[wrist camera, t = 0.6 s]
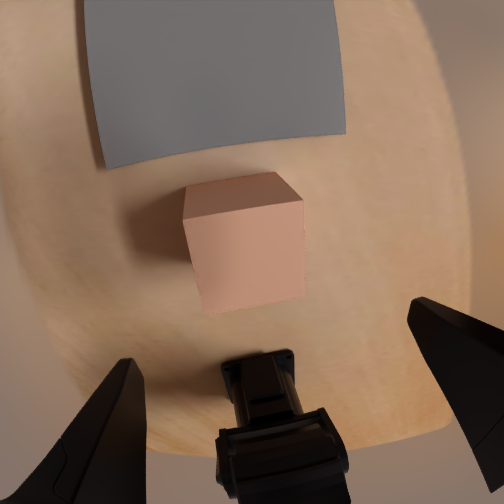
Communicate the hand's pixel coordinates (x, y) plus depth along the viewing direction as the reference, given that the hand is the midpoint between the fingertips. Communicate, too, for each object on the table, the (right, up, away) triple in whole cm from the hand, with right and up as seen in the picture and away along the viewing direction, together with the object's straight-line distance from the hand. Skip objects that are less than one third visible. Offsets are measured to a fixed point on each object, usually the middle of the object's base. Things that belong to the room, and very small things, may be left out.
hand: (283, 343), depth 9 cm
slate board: (-3, +15, +5) cm, 16 cm away
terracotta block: (-2, +5, +11) cm, 12 cm away
